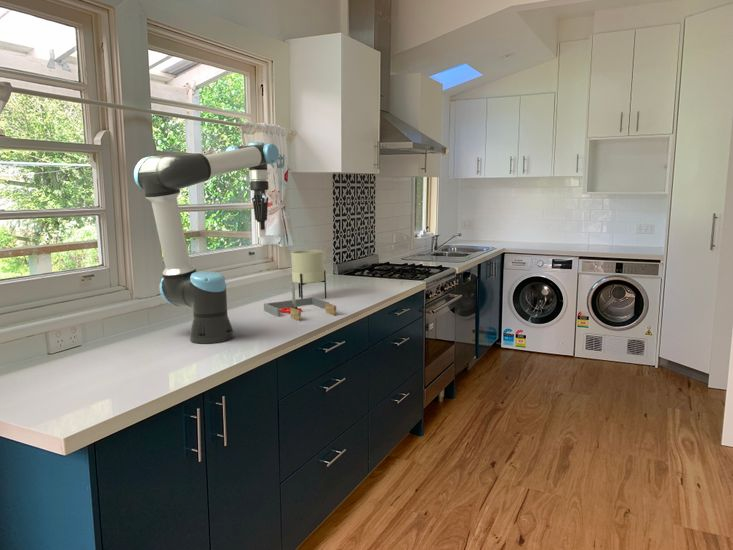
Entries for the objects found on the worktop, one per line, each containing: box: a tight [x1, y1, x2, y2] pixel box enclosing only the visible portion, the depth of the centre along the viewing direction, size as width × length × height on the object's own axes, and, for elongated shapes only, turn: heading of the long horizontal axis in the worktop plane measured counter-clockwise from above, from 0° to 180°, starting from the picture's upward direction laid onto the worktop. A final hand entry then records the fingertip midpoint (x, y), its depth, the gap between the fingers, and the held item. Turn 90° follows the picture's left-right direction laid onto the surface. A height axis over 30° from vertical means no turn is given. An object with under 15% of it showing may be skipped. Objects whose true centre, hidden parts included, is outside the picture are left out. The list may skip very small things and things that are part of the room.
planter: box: [290, 249, 327, 299], centre depth 269 cm, size 15×16×23 cm
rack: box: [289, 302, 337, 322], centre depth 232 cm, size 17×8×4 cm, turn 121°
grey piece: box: [263, 296, 330, 317], centre depth 246 cm, size 24×16×3 cm, turn 121°
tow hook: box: [280, 282, 303, 314], centre depth 244 cm, size 8×13×9 cm
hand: (262, 237), depth 238 cm, fingers closed
